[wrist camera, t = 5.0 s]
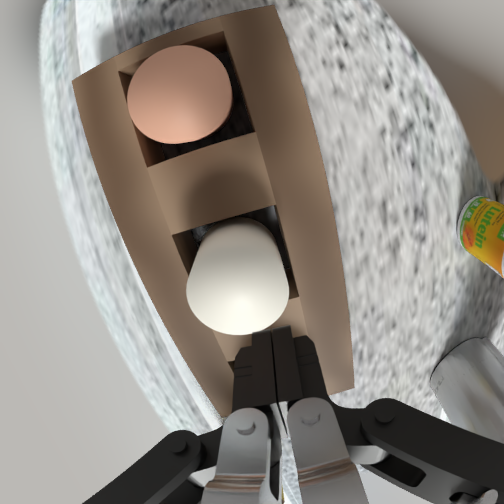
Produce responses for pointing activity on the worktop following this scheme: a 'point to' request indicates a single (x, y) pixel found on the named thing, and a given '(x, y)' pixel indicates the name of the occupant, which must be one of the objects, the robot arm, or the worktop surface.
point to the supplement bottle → (483, 231)
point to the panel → (224, 194)
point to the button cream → (237, 278)
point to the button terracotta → (180, 95)
